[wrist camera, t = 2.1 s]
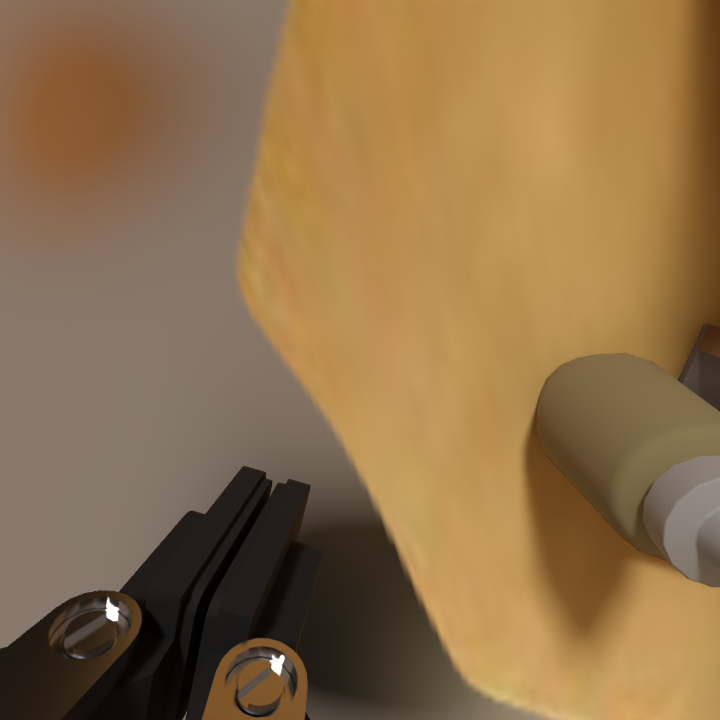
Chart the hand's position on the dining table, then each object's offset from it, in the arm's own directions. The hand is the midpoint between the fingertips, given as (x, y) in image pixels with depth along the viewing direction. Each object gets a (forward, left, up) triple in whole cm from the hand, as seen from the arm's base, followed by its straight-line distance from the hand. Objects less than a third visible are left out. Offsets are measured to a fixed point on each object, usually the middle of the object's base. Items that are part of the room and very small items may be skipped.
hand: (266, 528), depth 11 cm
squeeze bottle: (0, +15, -21) cm, 26 cm away
